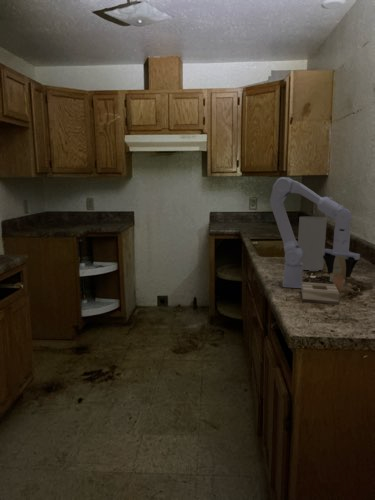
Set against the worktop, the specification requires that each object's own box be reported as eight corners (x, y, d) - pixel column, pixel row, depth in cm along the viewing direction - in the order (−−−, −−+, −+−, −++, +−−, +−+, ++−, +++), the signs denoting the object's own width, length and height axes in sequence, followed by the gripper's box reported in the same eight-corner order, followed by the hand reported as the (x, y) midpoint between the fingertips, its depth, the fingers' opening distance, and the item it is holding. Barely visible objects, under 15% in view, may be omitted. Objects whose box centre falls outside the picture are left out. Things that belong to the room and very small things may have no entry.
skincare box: (329, 281, 163) (331, 253, 160) (329, 279, 167) (331, 252, 164) (345, 283, 160) (348, 254, 158) (345, 280, 164) (348, 253, 162)
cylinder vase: (328, 270, 183) (332, 218, 179) (307, 272, 179) (311, 219, 174) (311, 265, 195) (314, 216, 190) (291, 267, 190) (294, 216, 186)
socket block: (301, 292, 147) (301, 282, 146) (334, 294, 144) (334, 284, 144) (302, 301, 136) (303, 290, 135) (338, 304, 133) (339, 293, 132)
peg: (332, 289, 152) (333, 274, 151) (341, 289, 151) (342, 275, 150) (333, 291, 148) (334, 276, 147) (342, 292, 147) (344, 277, 146)
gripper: (318, 238, 149) (316, 272, 152) (353, 243, 138) (350, 280, 140) (329, 237, 153) (327, 270, 156) (364, 241, 142) (360, 277, 144)
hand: (339, 274), depth 148 cm, fingers open, 7 cm apart
